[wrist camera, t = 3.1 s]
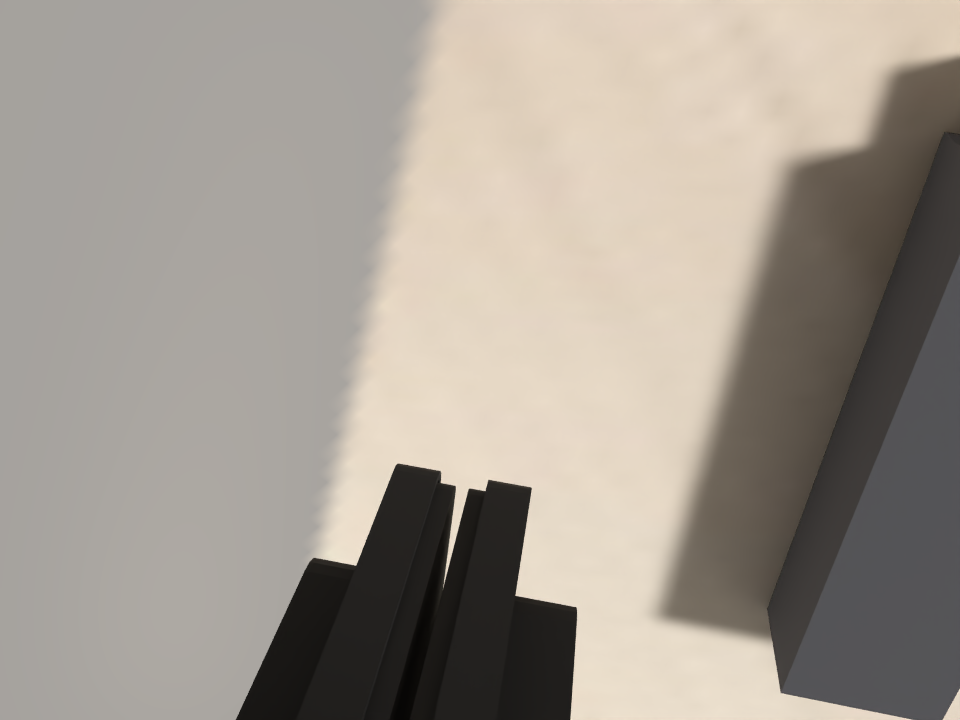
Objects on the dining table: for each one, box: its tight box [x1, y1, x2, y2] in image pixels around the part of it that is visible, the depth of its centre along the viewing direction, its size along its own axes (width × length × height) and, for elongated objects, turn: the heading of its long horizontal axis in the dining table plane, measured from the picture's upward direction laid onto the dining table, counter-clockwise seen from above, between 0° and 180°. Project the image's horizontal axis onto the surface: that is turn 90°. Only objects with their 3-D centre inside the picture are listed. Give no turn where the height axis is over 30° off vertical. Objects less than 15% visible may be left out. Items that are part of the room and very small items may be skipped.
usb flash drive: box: [767, 132, 960, 720], centre depth 14 cm, size 10×3×2 cm, turn 174°
